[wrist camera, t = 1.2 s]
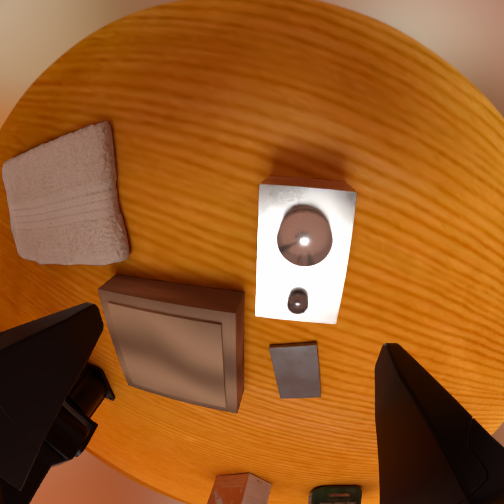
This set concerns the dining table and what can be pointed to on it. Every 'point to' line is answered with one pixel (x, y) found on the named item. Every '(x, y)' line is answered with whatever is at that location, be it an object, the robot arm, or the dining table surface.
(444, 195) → the dining table surface
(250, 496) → the small box
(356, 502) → the coffee jar
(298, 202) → the housing
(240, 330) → the tray
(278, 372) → the cover plate
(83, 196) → the washcloth
